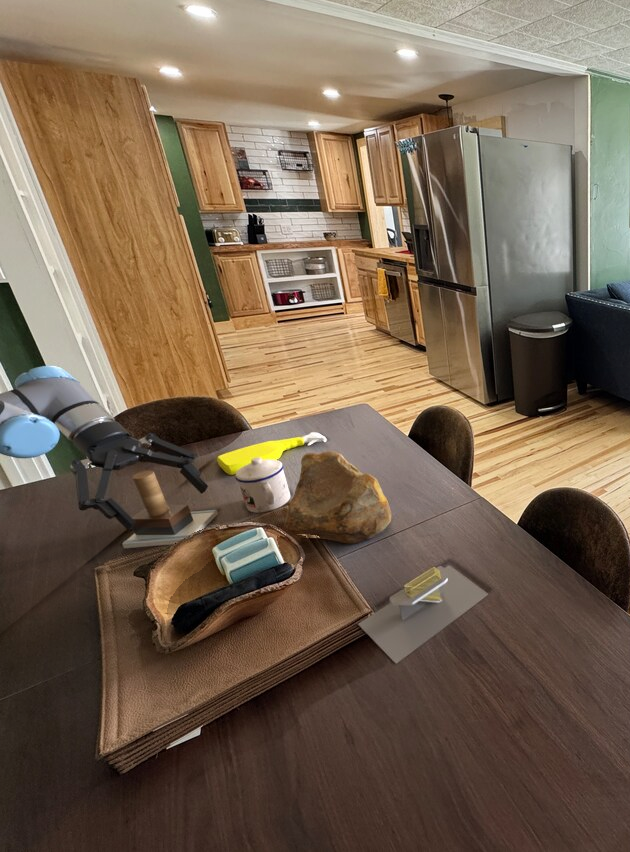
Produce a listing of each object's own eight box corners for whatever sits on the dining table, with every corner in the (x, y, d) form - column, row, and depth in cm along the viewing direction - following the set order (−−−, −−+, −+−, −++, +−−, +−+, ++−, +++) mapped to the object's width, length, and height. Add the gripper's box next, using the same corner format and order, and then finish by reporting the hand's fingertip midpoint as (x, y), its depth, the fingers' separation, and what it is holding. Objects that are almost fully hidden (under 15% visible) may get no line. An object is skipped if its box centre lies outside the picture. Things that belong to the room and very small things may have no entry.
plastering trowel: (488, 594, 85) (485, 565, 83) (396, 664, 72) (389, 632, 70) (449, 565, 92) (445, 537, 90) (357, 623, 79) (350, 593, 77)
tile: (124, 548, 96) (121, 543, 95) (158, 518, 105) (156, 513, 104) (190, 542, 97) (188, 537, 97) (218, 514, 106) (216, 509, 106)
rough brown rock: (270, 531, 102) (245, 475, 95) (343, 490, 114) (325, 438, 107) (328, 578, 91) (305, 518, 84) (403, 527, 103) (388, 471, 96)
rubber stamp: (135, 535, 98) (111, 481, 93) (156, 520, 102) (134, 468, 97) (175, 535, 98) (152, 481, 93) (193, 520, 102) (173, 468, 97)
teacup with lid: (242, 501, 111) (227, 458, 106) (286, 487, 117) (274, 445, 112) (252, 525, 103) (237, 479, 98) (299, 508, 109) (287, 464, 104)
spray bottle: (216, 464, 126) (314, 434, 144) (230, 478, 120) (330, 445, 138) (213, 455, 125) (312, 426, 143) (227, 468, 119) (328, 436, 137)
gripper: (159, 417, 109) (225, 484, 111) (6, 470, 87) (92, 552, 89) (167, 399, 105) (235, 468, 107) (10, 449, 84) (99, 535, 85)
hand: (170, 507), depth 98 cm, fingers open, 13 cm apart
